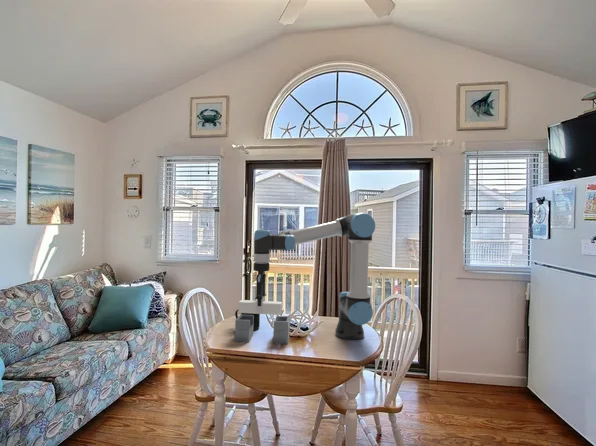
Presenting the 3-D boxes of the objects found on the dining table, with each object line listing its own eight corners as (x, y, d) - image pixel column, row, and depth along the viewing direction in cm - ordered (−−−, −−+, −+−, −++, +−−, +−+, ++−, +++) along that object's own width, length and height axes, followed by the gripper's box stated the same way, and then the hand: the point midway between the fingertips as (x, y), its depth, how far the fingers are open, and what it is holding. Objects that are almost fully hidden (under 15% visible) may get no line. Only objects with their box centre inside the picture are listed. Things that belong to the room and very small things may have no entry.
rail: (281, 312, 168) (282, 301, 168) (280, 314, 163) (280, 304, 163) (241, 310, 170) (241, 299, 170) (238, 312, 165) (238, 302, 165)
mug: (255, 332, 187) (256, 310, 187) (230, 329, 191) (231, 307, 191) (263, 326, 197) (263, 305, 197) (239, 324, 201) (239, 303, 201)
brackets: (289, 336, 181) (289, 316, 181) (287, 343, 170) (288, 322, 170) (239, 334, 183) (240, 314, 183) (234, 341, 172) (235, 320, 172)
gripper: (257, 260, 176) (256, 306, 176) (250, 264, 158) (248, 315, 158) (271, 260, 175) (270, 306, 175) (266, 264, 157) (265, 316, 157)
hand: (260, 311), depth 166 cm, fingers closed on rail, 5 cm apart
